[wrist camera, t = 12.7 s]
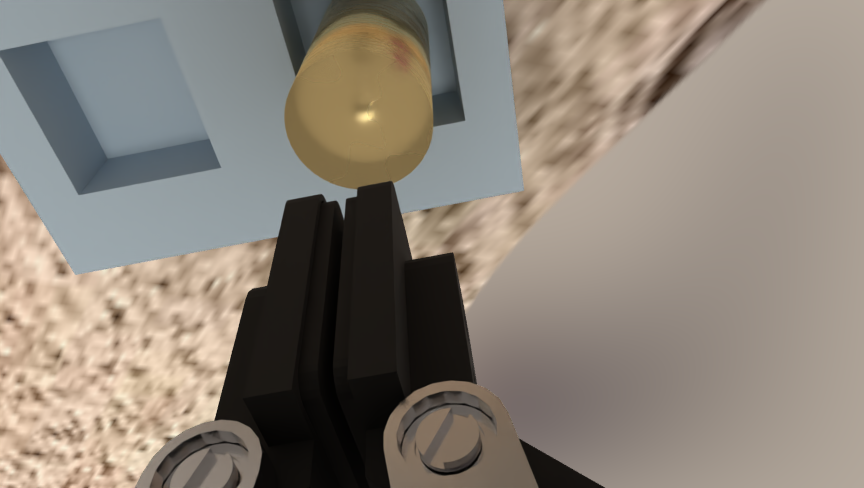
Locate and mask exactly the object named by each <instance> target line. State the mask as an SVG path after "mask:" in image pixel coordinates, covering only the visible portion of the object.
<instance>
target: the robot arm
mask: <svg viewBox="0 0 864 488" xmlns="http://www.w3.org/2000/svg"><path fill="white" fill-rule="evenodd" d="M135 488H605V487H603V486H601V485H599V484H597V483H596V482H594V481H592V480H591V479H589V478H587V477H585V476H583V475H582V474H580V473H578V472H576V471H575V470H573V469H571V468H570V467H568V466H566V465H564V464H562V463H561V462H559V461H557V460H556V459H554V458H552V457H550V456H549V455H547V454H545V453H543V452H542V451H540V450H538V449H536V448H535V447H533V446H531V445H529V444H528V443H526V442H524V441H522V440H521V439H519V438H518V435H517V433H516V431H515V428H514V426H513V423H512V421H511V418H510V416H509V413H508V411H507V410H506V408H505V407H504V406H503V404H502V402H501V400H500V399H499V398H498V397H497V396H495V395H494V394H493V393H492V392H490V391H489V390H488V389H486V388H484V387H481V386H479V385H477V382H476V376H475V370H474V363H473V357H472V351H471V345H470V339H469V333H468V328H467V321H466V316H465V310H464V305H463V299H462V294H461V289H460V284H459V279H458V273H457V268H456V263H455V258H454V254H453V253H447V254H442V255H436V256H431V257H425V258H420V259H414V260H412V256H411V252H410V248H409V243H408V239H407V235H406V231H405V227H404V223H403V219H402V215H401V211H400V207H399V203H398V199H397V194H396V191H395V187H394V184H393V182H392V181H387V182H382V183H377V184H371V185H366V186H361V187H358V188H357V197H351V198H347V199H346V203H345V216H344V218H343V215H342V211H341V208H340V205H339V203H338V201H336V200H335V201H330V202H326V199H325V197H324V196H323V195H322V194H318V195H313V196H307V197H302V198H297V199H291V200H287V201H286V204H285V208H284V212H283V217H282V221H281V226H280V230H279V235H278V239H277V244H276V248H275V253H274V257H273V262H272V267H271V271H270V276H269V280H268V285H267V286H265V287H259V288H254V289H252V290H250V291H249V292H248V295H247V297H246V300H245V304H244V308H243V311H242V315H241V319H240V323H239V327H238V331H237V335H236V339H235V343H234V347H233V350H232V354H231V358H230V362H229V366H228V370H227V374H226V378H225V382H224V385H223V389H222V393H221V397H220V401H219V405H218V409H217V413H216V417H215V421H211V422H206V423H202V424H200V425H197V426H195V427H192V428H190V429H188V430H185V431H184V432H182V433H181V434H179V435H178V436H176V437H175V438H173V439H172V440H170V441H169V442H167V443H166V444H165V445H164V446H163V447H162V448H161V449H160V450H159V451H158V452H157V453H156V454H155V455H154V456H153V458H152V459H151V461H150V462H149V464H148V465H147V467H146V468H145V470H144V471H143V473H142V475H141V477H140V479H139V481H138V483H137V485H136V487H135Z"/></svg>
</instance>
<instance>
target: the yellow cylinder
mask: <svg viewBox="0 0 864 488" xmlns="http://www.w3.org/2000/svg"><path fill="white" fill-rule="evenodd" d="M284 121H285V129H286V133H287V137H288V140H289V142H290V145H291V147H292V148H293V150H294V152H295V154H296V155H297V156H298V158H299V159H300V160H301V162H302V163H303V164H304V165H305V166H306V167H307V168H308V169H309V170H311V171H312V172H313V173H314V174H316V175H317V176H319V177H320V178H322V179H324V180H326V181H328V182H330V183H332V184H335V185H337V186H341V187H345V188H349V189H357V188H358V187H361V186H366V185H371V184H377V183H382V182H387V181H392V182H393V183H395V182H397V181H399V180H401V179H403V178H404V177H406V176H407V175H409V174H410V173H411V172H412V171H413V170H414V169H415V168H416V167H417V166H418V165H419V164H420V163H421V161H422V160H423V158H424V157H425V155H426V153H427V151H428V149H429V146H430V143H431V140H432V134H433V104H432V84H431V65H430V46H429V31H428V25H427V21H426V18H425V16H424V13H423V11H422V10H421V8H420V6H419V5H418V3H417V2H416V1H415V0H332V1H331V3H330V4H329V6H328V8H327V10H326V12H325V14H324V16H323V18H322V21H321V23H320V25H319V27H318V29H317V32H316V34H315V36H314V38H313V40H312V43H311V45H310V47H309V49H308V51H307V54H306V56H305V58H304V60H303V62H302V65H301V67H300V69H299V71H298V73H297V76H296V78H295V80H294V82H293V84H292V87H291V89H290V91H289V94H288V97H287V100H286V104H285V110H284Z"/></svg>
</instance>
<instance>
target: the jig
mask: <svg viewBox="0 0 864 488" xmlns="http://www.w3.org/2000/svg"><path fill="white" fill-rule="evenodd" d="M331 1H332V0H0V154H1V155H2V157H3V159H4V160H5V162H6V164H7V165H8V167H9V168H10V170H11V172H12V173H13V175H14V176H15V178H16V180H17V181H18V183H19V185H20V186H21V188H22V189H23V191H24V193H25V194H26V196H27V197H28V199H29V201H30V202H31V204H32V205H33V207H34V209H35V210H36V212H37V214H38V215H39V217H40V218H41V220H42V222H43V223H44V225H45V226H46V228H47V230H48V231H49V233H50V235H51V236H52V238H53V239H54V241H55V243H56V244H57V246H58V247H59V249H60V251H61V252H62V254H63V256H64V257H65V259H66V260H67V262H68V264H69V265H70V267H71V268H72V270H73V272H74V273H75V275H77V274H82V273H87V272H93V271H98V270H103V269H109V268H114V267H119V266H125V265H130V264H135V263H141V262H146V261H152V260H157V259H162V258H168V257H173V256H178V255H184V254H189V253H194V252H200V251H205V250H210V249H216V248H221V247H226V246H232V245H237V244H242V243H248V242H253V241H258V240H264V239H269V238H274V237H278V235H279V230H280V226H281V221H282V217H283V212H284V208H285V204H286V201H287V200H291V199H297V198H302V197H307V196H313V195H318V194H322V195H323V196H324V197H325V199H326V202H330V201H335V200H336V201H338V203H339V205H340V208H341V211H342V215H343V218H344V216H345V203H346V199H347V198H351V197H357V189H349V188H345V187H341V186H337V185H335V184H332V183H330V182H328V181H326V180H324V179H322V178H320V177H319V176H317V175H316V174H314V173H313V172H312V171H311V170H309V169H308V168H307V167H306V166H305V165H304V164H303V163H302V162H301V160H300V159H299V158H298V156H297V155H296V154H295V152H294V150H293V148H292V147H291V145H290V142H289V140H288V137H287V133H286V129H285V121H284V110H285V104H286V100H287V97H288V94H289V91H290V89H291V87H292V84H293V82H294V80H295V78H296V76H297V73H298V71H299V69H300V67H301V65H302V62H303V60H304V58H305V56H306V54H307V51H308V49H309V47H310V45H311V43H312V40H313V38H314V36H315V34H316V32H317V29H318V27H319V25H320V23H321V21H322V18H323V16H324V14H325V12H326V10H327V8H328V6H329V4H330V3H331ZM415 1H416V2H417V3H418V5H419V6H420V8H421V10H422V11H423V13H424V16H425V18H426V21H427V25H428V31H429V46H430V65H431V84H432V104H433V134H432V140H431V143H430V146H429V149H428V151H427V153H426V155H425V157H424V158H423V160H422V161H421V163H420V164H419V165H418V166H417V167H416V168H415V169H414V170H413V171H412V172H411V173H410V174H409V175H407V176H406V177H404V178H403V179H401V180H399V181H397V182H395V183H393V184H394V187H395V191H396V194H397V199H398V203H399V207H400V211H401V214H402V213H408V212H413V211H418V210H424V209H429V208H434V207H440V206H445V205H450V204H456V203H461V202H466V201H472V200H477V199H482V198H488V197H493V196H498V195H504V194H509V193H514V192H520V191H524V187H523V177H522V168H521V159H520V150H519V141H518V132H517V123H516V114H515V104H514V95H513V86H512V77H511V68H510V59H509V50H508V41H507V32H506V22H505V13H504V4H503V0H415Z"/></svg>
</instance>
